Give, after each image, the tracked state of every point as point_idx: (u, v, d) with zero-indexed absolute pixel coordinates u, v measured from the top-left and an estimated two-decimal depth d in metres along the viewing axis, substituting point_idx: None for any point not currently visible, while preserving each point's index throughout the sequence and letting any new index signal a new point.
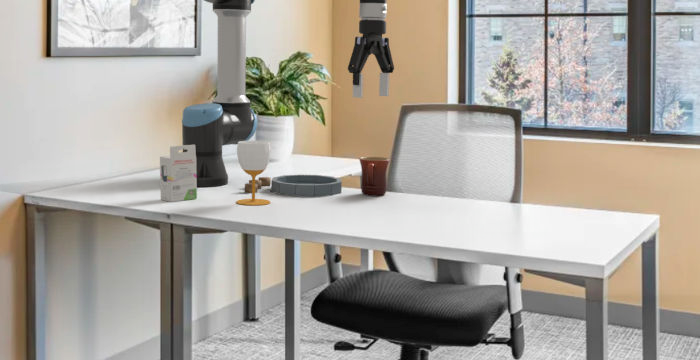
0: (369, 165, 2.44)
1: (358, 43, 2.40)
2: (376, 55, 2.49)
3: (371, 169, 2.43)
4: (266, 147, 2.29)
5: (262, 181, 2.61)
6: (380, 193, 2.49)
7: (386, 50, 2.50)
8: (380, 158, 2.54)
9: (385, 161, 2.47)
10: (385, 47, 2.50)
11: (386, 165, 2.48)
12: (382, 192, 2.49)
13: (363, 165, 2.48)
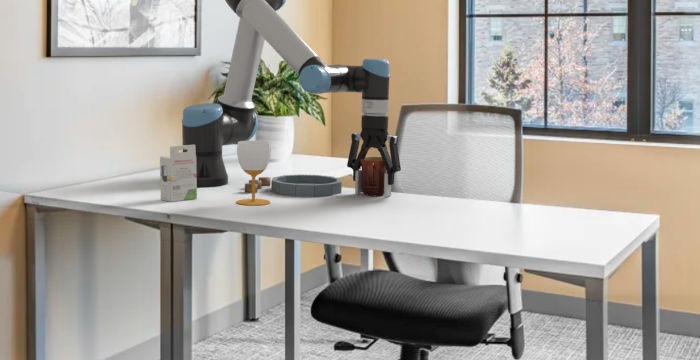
0: (369, 165, 2.44)
1: None
2: None
3: (371, 169, 2.43)
4: (266, 147, 2.29)
5: (262, 181, 2.61)
6: (380, 193, 2.49)
7: None
8: (380, 158, 2.54)
9: None
10: None
11: None
12: (382, 192, 2.49)
13: (363, 165, 2.48)
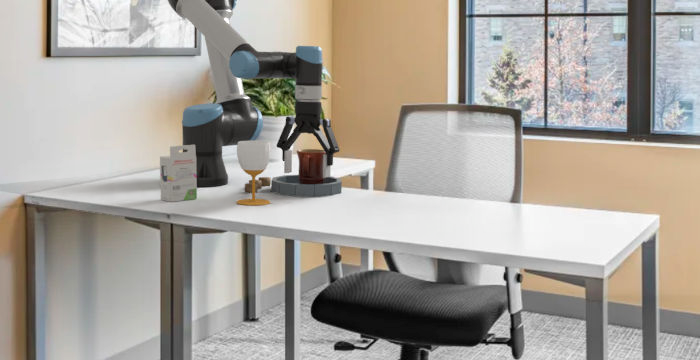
0: (305, 157, 2.48)
1: None
2: None
3: (306, 161, 2.48)
4: (266, 147, 2.29)
5: (262, 181, 2.61)
6: None
7: None
8: (318, 150, 2.58)
9: (321, 153, 2.52)
10: None
11: (322, 157, 2.53)
12: None
13: (300, 157, 2.53)
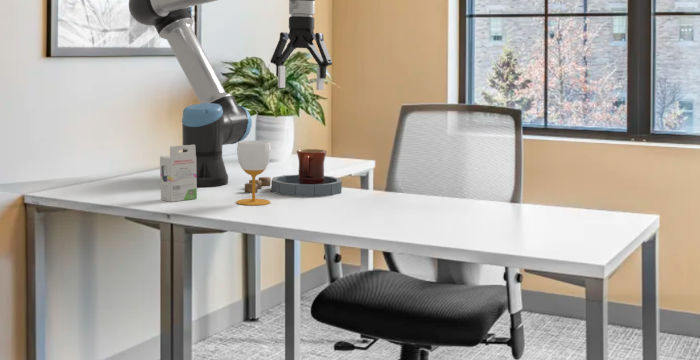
0: (305, 157, 2.48)
1: None
2: None
3: (306, 161, 2.48)
4: (266, 147, 2.29)
5: (262, 181, 2.61)
6: None
7: None
8: (318, 150, 2.58)
9: (321, 153, 2.52)
10: None
11: (322, 157, 2.53)
12: None
13: (300, 157, 2.53)
